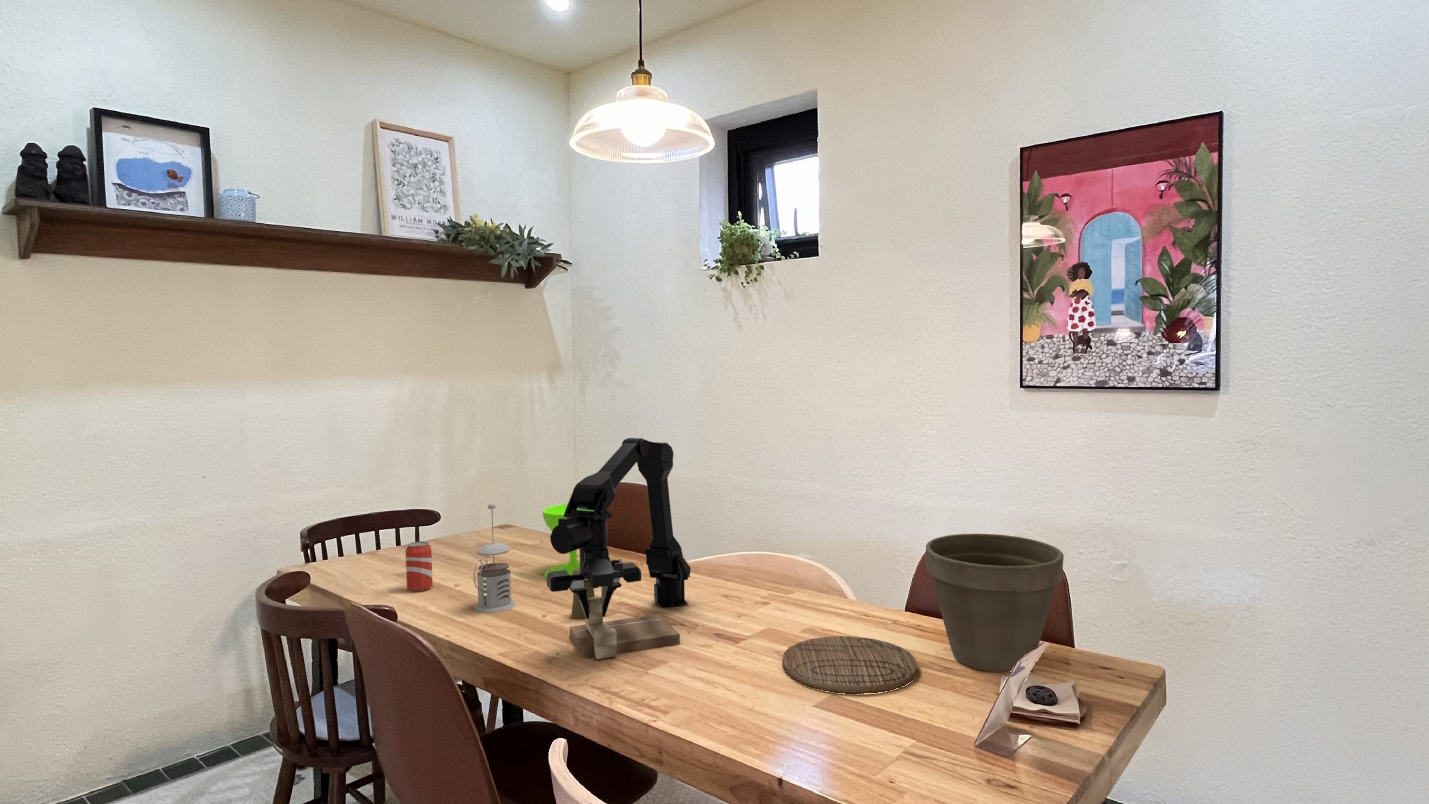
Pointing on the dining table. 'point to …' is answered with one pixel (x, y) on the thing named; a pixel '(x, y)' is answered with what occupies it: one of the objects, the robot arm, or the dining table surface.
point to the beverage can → (419, 566)
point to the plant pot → (993, 595)
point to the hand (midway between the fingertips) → (595, 617)
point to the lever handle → (600, 630)
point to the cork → (576, 606)
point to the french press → (493, 578)
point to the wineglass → (551, 521)
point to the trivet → (849, 664)
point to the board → (629, 634)
